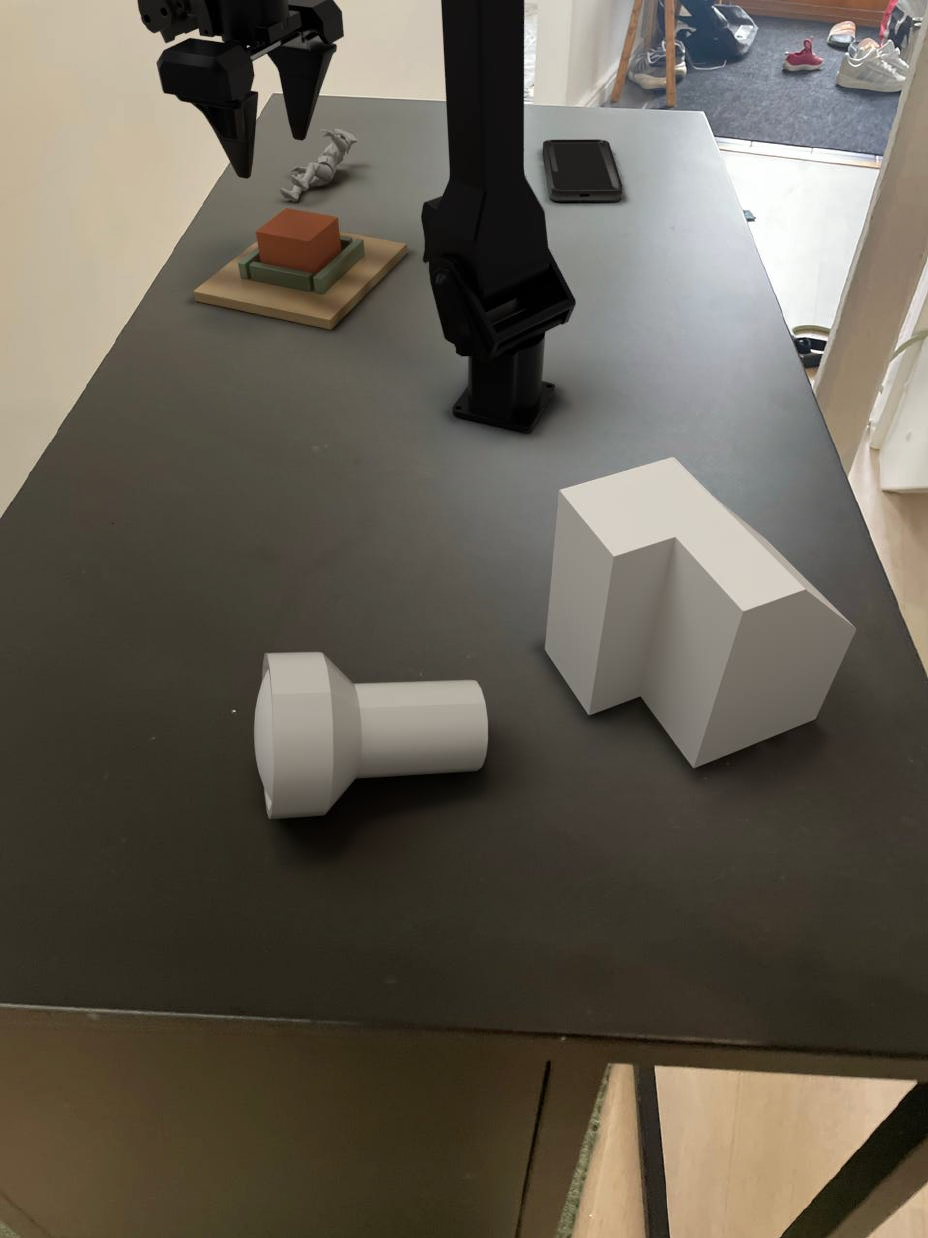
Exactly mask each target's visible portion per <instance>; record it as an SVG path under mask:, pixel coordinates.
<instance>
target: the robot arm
mask: <svg viewBox="0 0 928 1238" xmlns="http://www.w3.org/2000/svg"><path fill="white" fill-rule="evenodd" d="M136 1H137V9H138V12H139V15H140V20H141V23H142V24H143V25H144V26H145V27H146V29H147V30H148V31H149V32H151V33H152V34H157V33H160V36H161V37H162V40H163V41H164V44H168V43H171V42H174V41H175V40H176V37H178V36H180V35H183V34H184V35H187V34H189V33H192V32H194V31H196V30H198V34H199V36H200V37H207V38H215V37H221V41H217V40H209V39H204V38H203V39H201V38H194V37H188V38H186V39H184V40H181V41H179V42H178V43H176V44H173V45H171V46H169V47H168V48H165V49H163V51H162V52H161V53H160V56H159V57H158V59H157V61H156V68H157V72H158V76H159V82H160V86H161V90H162V93H163V94H164V95H165V94H166V95H172V96H175V97H176V98H177V99H178V101H180V102H183V103H187V104H191V105H192V106H193V107H194V108H196V109H197V110H198V111H199V112H200V113H201V114H202V115H203V116H204V118H205V119H206V120H207V123H208V124H209V126H210V127H211V129H212V131H213V132H214V134H215V137H216V138H217V139H218V142H219V144H220V146H221V147H222V149H223V151H224V153H225V155H226V157H227V159H228V161H229V163H230V165H231V166H232V168H233V170H234V173H235V174H236V176H237V177H238V178H240V179H245V180H246V179H247V180H248V179H250V178H251V176H252V171H253V165H254V156H255V142H256V127H257V119H258V118H257V117H258V105H259V91H256V90H252V88H253V84H254V80H255V77H256V75H255V68H254V61H256V60H259V59H260V58H262V57H263V56H266V55H267V57H268V58H269V60H271V62H272V63H273V64H274V66H275V67H276V69H277V72H278V76H279V82H280V86H281V91H282V96H283V102H284V106H285V111H286V115H287V122H288V125H289V129H290V132H291V136H292V138H293V139H294V140H295V141H301V142H302V141H304V140H306V138H307V135H308V132H309V128H310V126H311V123H312V120H313V115H314V112H315V109H316V106H317V102H318V99H319V96H320V93H321V89H322V87H323V84H324V81H325V79H326V75H327V73H328V70H329V67H330V64H331V61H332V59H333V57H334V54H335V53H336V52H337V51H338V50H337V49H338V45H337V43H335V42H337V41H339V40H340V39H342V38H344V37H345V32H344V31H345V30H344V18H343V11H342V9H341V8H340V7H339V6H338V4H337V3H336V2H335V1H334V0H136ZM440 7H441V8H440V9H441V26H442V27H441V28H442V45H443V46H442V47H443V49H442V50H443V66H444V85H445V86H444V87H445V105H446V125H447V145H448V167H449V177H448V182H447V184H446V186H445V189H444V191H443V193H442V195H440V196H438V197H435V198H432V199H430V200H427V201H425V202H423V204H422V208H421V214H420V221H421V225H422V231H423V239H424V249H423V255H422V262H423V263H424V264H427V263H428V275H429V283H430V288H431V291H432V295H433V299H434V303H435V306H436V310H437V311H436V312H437V315H438V319H439V323H440V326H441V330H442V334H443V338H444V340H446V341H447V342H449V343H450V344H452V345H453V347H454V348H455V354H456V355H458V356H460V357H467V386H466V387H465V389H464V391H463V392H462V393H461V395H460V396H459V397H458V399H457V400H456V402H454V404H453V406H452V409H451V410H452V411H451V413H452V415H453V416H456V417H459V418H464V419H469V420H473V421H477V422H481V423H486V424H489V425H493V426H498V427H502V428H503V427H504V428H508V429H511V430H515V431H521V432H524V433H525V432H526V433H527V432H531V431H532V430H533V428H534V427H535V425H536V424H537V422H538V420H539V419H540V417H541V415H542V414H543V412H544V410H545V408H546V407H547V405H548V404H549V402H550V400H551V399H552V397H553V395H554V394H555V392H556V385H555V383H552V382H548V381H544V380H543V373H544V361H545V360H544V359H545V358H544V357H545V345H546V333H547V332H549V331H550V330H552V329H554V328H556V327H559V326H561V325H562V326H563V325H565V324H567V323H568V322H569V321H570V319H571V316H572V314H573V312H574V309H575V307H576V305H577V301H576V298H575V297H574V294H573V293H572V290H571V289H570V286H569V284H568V283H567V281H566V279H565V277H564V275H563V273H562V271H561V269H560V267H559V265H558V263H557V261H556V259H555V257H554V254H553V253H552V251H551V249H550V248H549V241H548V230H547V222H546V221H547V220H546V211H545V209H544V207H543V206H542V203H541V202H540V200H539V198H538V196H537V195H536V193H535V191H534V189H533V187H532V186H531V184H530V183H529V180H528V178H527V179H526V177H525V175H526V174H525V0H440Z"/></svg>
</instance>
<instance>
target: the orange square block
mask: <svg viewBox="0 0 928 1238" xmlns="http://www.w3.org/2000/svg"><path fill="white" fill-rule="evenodd" d="M340 232H341V231H340V223H339V217H338V216H334V215H328V214H323V213H317V212H311V211H307V210H301V209H294V208H288V207H285V208H283V210H281V211H280V212H279V213H277V214H276V215H275V216H274V217H272V218H271V219H270V220H268V221H267V222H266V223H264V224H263V225H262V226H261V227H260V228H258V229H256V231H255V236H256V241H257V242H258V248H259V254H260V260H261V263H264V264H269V265H274V266H279V267H284V268H290V269H295V270H300V271H305V272H310V273H313V278H314V276H316V275H317V274H318V273H319V272H320V271H321V270H322V269H323V268H324V267H326V266H327V265H328V264H329V263H330V262H331V261H332V260H333V259H334V258H335V257H337V256H338V255H339V254H340V253H341V242H340Z"/></svg>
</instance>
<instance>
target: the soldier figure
mask: <svg viewBox="0 0 928 1238" xmlns="http://www.w3.org/2000/svg"><path fill="white" fill-rule="evenodd" d="M319 131H320V132H323V133H324V134H323V135H322V137H323V138H324V137H330V139H331V140H332V142H330V143H329V144H328V146H326V148H324V150H323V151H322V153H321V154H320V155H319V156H318V158H317V160H316V162H314V161H311V162H309V163H308V164H307V166H300V165H299V166H298V165H297V166H295V167H293V168H291V170H290V171H291V173H293V172H297V174H296V175H294V174H291V175H290V176H289V179H290V181H291V183H292V184H293V187H292V190H288V189H285V187H281V188H279V193H280V194H281V195H282V197H283V198H285V199H288V200H290V201H291V202H293V203H297V202H298V201H299V200H300V199H299V198H300V195H301V194H302V192H307V191H308V189H309V188H310V187H312V188H313V187H322V186H327V185H328V184H329V183H332V181H333V179H334V177H335V174H336V171H337V169H338V165H340V164H341V162H343V161H344V157H345V155H349V152H350V150H351V149H352V146H353V144H355V143H358V139H357V138H356V137H355V136H354V135H353V134H352V133H350V132H348V131H345V130H344V129H341V128H333V131H331V130H329V129H325V128H323V129H320V130H319Z"/></svg>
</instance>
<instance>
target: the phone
mask: <svg viewBox="0 0 928 1238" xmlns="http://www.w3.org/2000/svg"><path fill="white" fill-rule="evenodd" d="M541 153H542V160H543V165H544V172H545V178H546V184H547V191H548V197H549V199H550V200H551V201H554V202H560V203H563V202H564V203H565V202H566V203H567V202H569V203H570V202H571V203H572V202H573V203H574V202H578V203H579V202H588V203H589V202H617V201H620V200H621V199H622V195H623V183H622V181H621V177H620V174H619V171H618V167H617V164H616V159H615V158H614V154H613V151H612V146H611V144H610V142H609V141H608V140H605V139H599V138H598V139H593V138H592V139H589V138H588V139H586V138H585V139H546V140H544V141H543V142H542V151H541Z"/></svg>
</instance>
